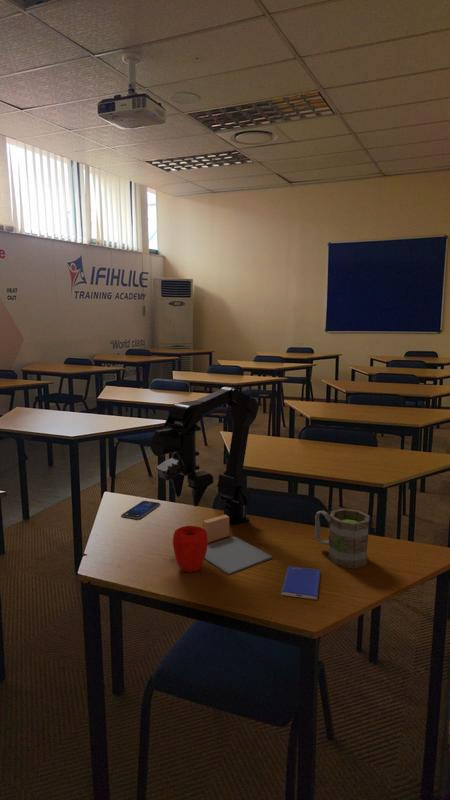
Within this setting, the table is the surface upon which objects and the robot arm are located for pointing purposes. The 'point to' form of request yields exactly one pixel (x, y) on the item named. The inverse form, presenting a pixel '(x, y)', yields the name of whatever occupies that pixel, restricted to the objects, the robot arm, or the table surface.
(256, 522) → the table surface
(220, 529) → the tile
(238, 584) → the table surface
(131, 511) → the smartphone
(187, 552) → the apple
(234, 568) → the mat
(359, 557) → the mug
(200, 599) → the table surface
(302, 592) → the hard drive
